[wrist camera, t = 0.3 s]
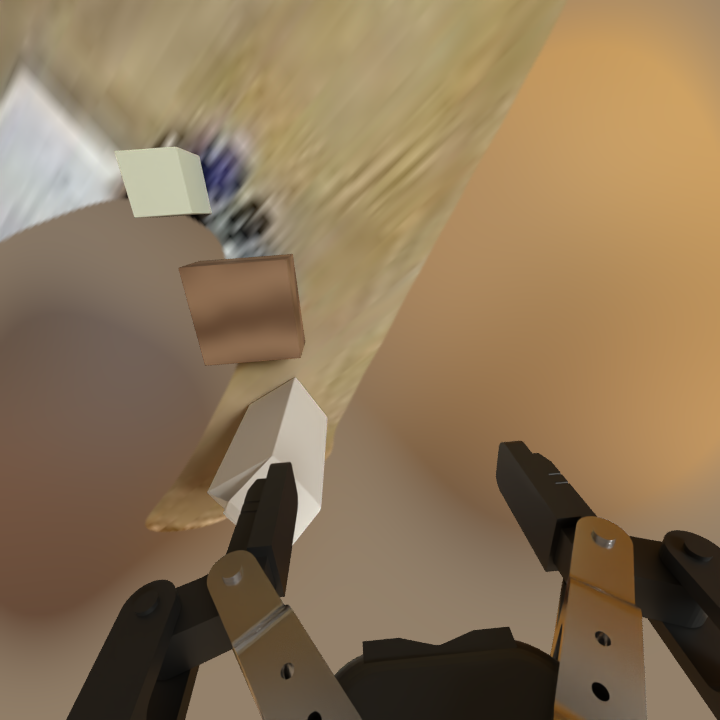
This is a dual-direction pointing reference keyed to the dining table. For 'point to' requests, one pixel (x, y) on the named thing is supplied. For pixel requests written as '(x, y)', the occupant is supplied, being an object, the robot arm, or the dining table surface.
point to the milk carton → (276, 451)
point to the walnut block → (245, 308)
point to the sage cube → (163, 182)
